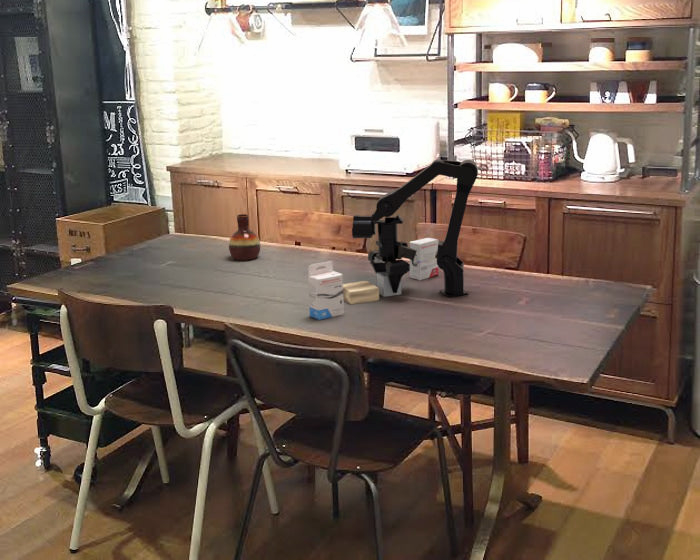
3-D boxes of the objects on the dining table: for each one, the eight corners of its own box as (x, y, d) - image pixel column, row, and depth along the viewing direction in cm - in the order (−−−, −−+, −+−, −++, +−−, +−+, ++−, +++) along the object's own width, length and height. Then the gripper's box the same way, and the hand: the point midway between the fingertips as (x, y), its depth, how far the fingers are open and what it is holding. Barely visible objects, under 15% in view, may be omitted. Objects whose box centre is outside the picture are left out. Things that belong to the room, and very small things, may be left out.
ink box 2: (428, 272, 284) (428, 236, 280) (439, 275, 280) (439, 239, 277) (408, 277, 278) (408, 241, 275) (419, 280, 274) (419, 243, 271)
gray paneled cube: (401, 294, 261) (400, 274, 259) (384, 296, 259) (383, 276, 258) (394, 289, 266) (393, 270, 264) (377, 292, 264) (376, 272, 263)
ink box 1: (319, 320, 239) (316, 268, 236) (309, 316, 243) (306, 265, 239) (344, 314, 244) (342, 263, 240) (334, 310, 248) (332, 259, 244)
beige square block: (379, 301, 256) (378, 287, 255) (350, 305, 253) (350, 292, 252) (366, 293, 264) (366, 280, 263) (339, 297, 261) (338, 284, 260)
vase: (223, 258, 311) (220, 216, 307) (248, 253, 318) (245, 211, 314) (241, 263, 303) (238, 219, 299) (267, 257, 310) (264, 214, 306)
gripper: (426, 241, 252) (426, 293, 256) (400, 229, 269) (401, 278, 273) (390, 245, 249) (391, 298, 253) (366, 233, 266) (368, 282, 270)
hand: (389, 289), depth 262 cm, fingers open, 9 cm apart
